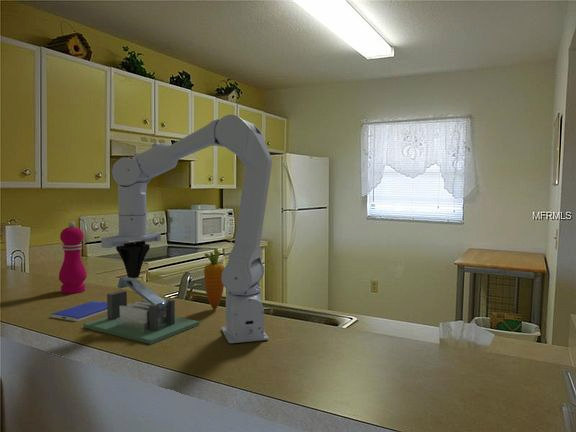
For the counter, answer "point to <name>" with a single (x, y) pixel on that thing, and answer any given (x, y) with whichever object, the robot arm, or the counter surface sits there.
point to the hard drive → (82, 311)
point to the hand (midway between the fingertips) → (133, 277)
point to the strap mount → (121, 299)
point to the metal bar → (142, 291)
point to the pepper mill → (72, 261)
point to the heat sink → (139, 316)
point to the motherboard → (147, 336)
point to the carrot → (214, 279)
